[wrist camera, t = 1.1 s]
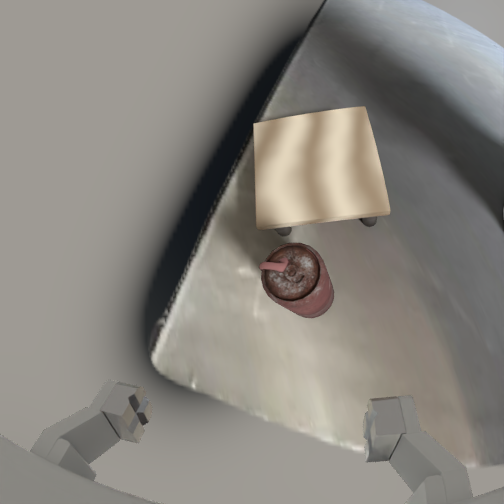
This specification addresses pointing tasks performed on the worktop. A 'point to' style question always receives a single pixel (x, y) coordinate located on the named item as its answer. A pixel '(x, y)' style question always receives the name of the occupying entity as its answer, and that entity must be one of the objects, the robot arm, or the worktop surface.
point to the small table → (317, 170)
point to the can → (297, 280)
